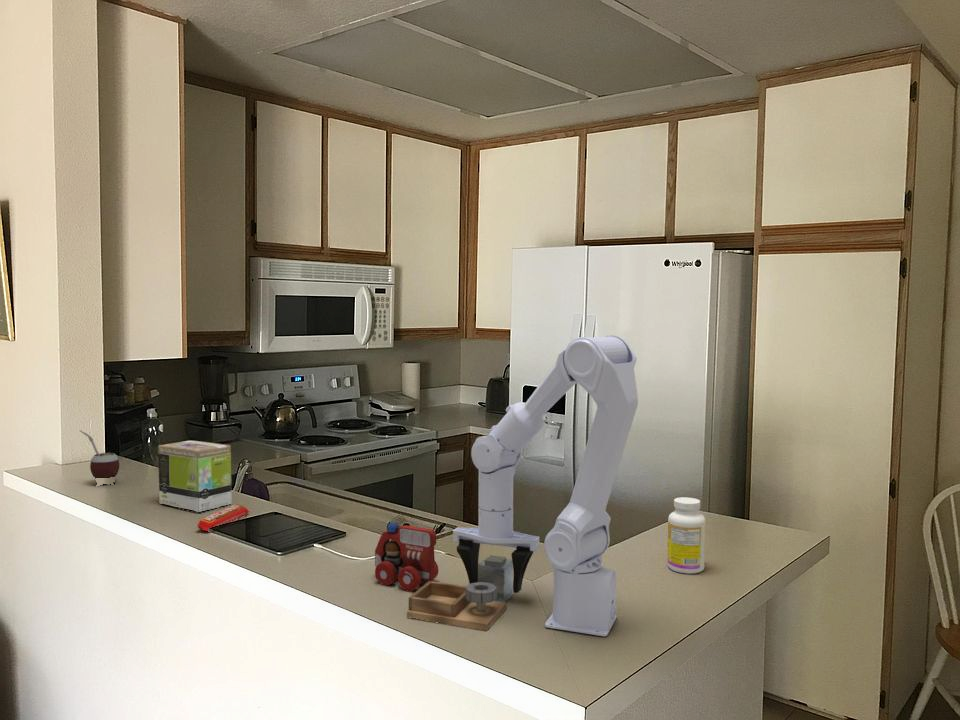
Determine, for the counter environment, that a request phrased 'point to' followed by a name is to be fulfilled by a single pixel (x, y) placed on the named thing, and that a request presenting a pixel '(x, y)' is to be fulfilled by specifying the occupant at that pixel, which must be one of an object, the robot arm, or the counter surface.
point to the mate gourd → (103, 463)
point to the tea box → (195, 474)
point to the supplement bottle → (686, 537)
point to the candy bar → (223, 517)
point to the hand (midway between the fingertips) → (495, 587)
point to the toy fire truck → (406, 556)
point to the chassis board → (452, 607)
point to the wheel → (481, 592)
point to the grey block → (497, 575)
